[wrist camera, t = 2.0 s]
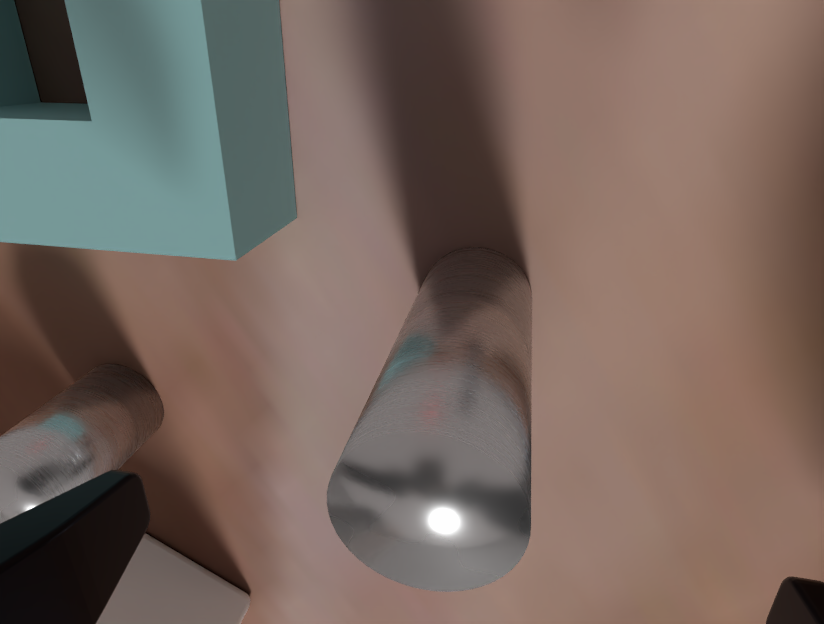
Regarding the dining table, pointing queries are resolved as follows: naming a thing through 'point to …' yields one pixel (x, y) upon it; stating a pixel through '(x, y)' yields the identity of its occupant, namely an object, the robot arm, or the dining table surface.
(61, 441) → the pin short
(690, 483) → the dining table surface
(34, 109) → the socket block
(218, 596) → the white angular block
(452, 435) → the pin medium
